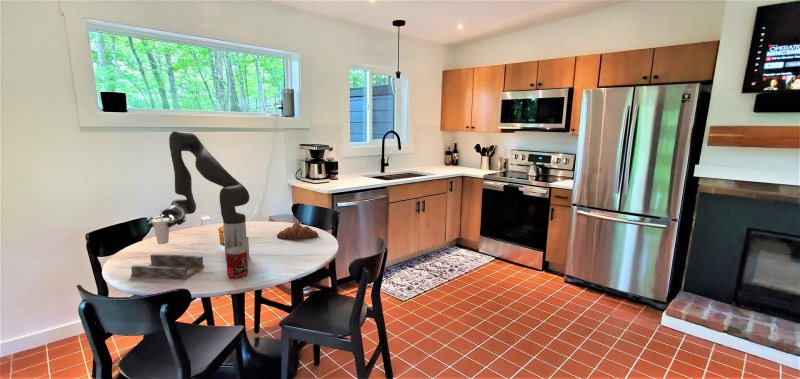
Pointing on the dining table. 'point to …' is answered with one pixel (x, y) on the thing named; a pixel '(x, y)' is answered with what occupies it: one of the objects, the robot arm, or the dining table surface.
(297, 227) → the pastry
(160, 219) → the smoothie
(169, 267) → the door track
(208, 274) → the dining table surface
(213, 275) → the dining table surface
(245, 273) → the canned food
